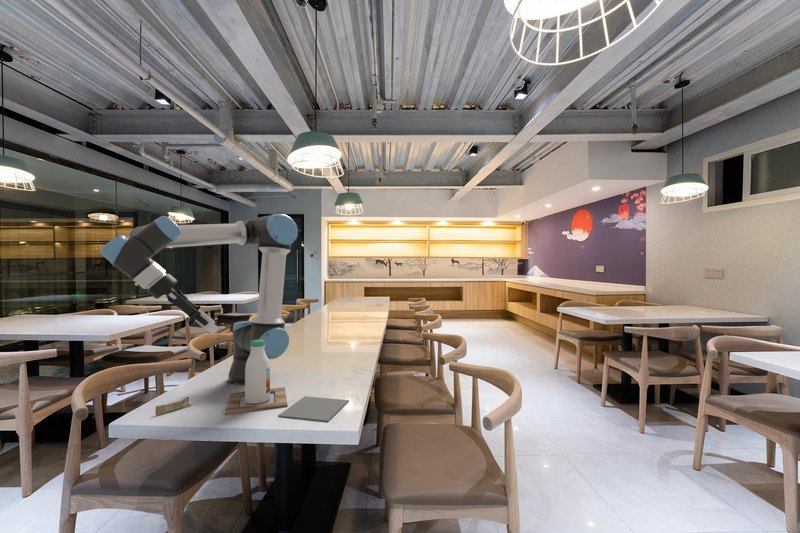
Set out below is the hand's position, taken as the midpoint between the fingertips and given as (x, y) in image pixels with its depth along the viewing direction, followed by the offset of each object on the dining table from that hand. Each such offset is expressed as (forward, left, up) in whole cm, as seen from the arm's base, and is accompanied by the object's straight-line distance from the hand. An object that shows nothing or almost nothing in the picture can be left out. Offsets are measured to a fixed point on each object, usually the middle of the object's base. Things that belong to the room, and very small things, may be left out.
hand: (213, 328), depth 112 cm
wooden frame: (-8, +10, -25) cm, 28 cm away
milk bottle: (-8, +10, -25) cm, 28 cm away
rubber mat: (-6, +32, -25) cm, 41 cm away
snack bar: (+5, -11, -26) cm, 28 cm away
